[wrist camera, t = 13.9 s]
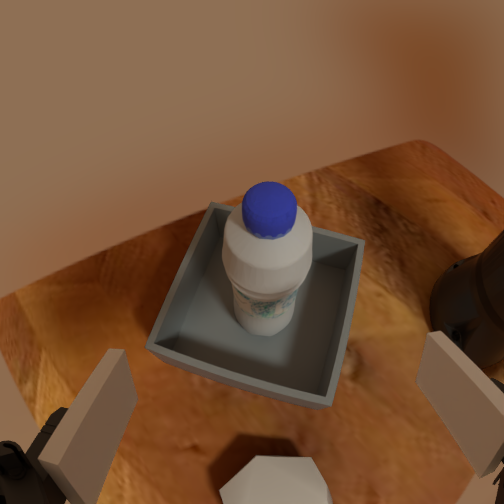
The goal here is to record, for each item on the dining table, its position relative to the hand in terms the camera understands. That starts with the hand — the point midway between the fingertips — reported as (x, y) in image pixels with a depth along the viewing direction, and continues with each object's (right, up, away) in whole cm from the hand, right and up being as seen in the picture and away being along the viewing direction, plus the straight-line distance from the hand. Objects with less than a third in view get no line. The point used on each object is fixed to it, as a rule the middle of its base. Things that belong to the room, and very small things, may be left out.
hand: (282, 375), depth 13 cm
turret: (+3, -24, +12) cm, 27 cm away
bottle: (0, -2, +23) cm, 23 cm away
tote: (0, -2, +24) cm, 24 cm away
